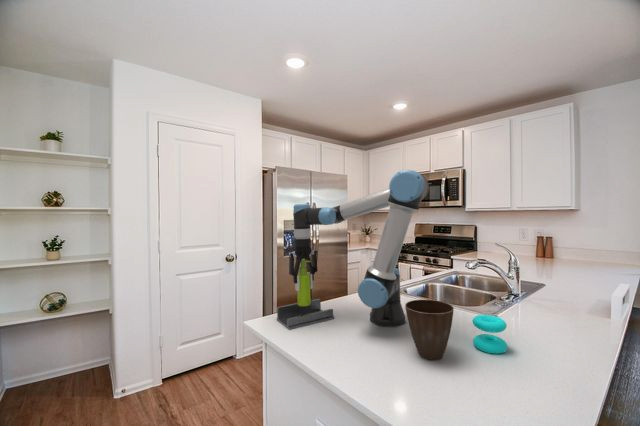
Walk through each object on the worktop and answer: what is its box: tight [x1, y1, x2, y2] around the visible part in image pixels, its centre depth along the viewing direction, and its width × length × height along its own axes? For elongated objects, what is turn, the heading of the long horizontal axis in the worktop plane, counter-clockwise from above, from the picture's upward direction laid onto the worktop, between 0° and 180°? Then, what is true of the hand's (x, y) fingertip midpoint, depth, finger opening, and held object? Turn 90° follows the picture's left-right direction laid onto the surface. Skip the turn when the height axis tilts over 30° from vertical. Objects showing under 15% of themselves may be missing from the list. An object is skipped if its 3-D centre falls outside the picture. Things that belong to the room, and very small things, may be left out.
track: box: [276, 298, 335, 331], centre depth 133 cm, size 14×22×6 cm, turn 120°
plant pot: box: [404, 299, 455, 361], centre depth 97 cm, size 15×15×16 cm
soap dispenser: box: [296, 259, 312, 306], centre depth 133 cm, size 6×7×20 cm
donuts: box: [471, 314, 508, 355], centre depth 100 cm, size 10×10×10 cm
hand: (304, 289), depth 133 cm, fingers closed on soap dispenser, 6 cm apart
